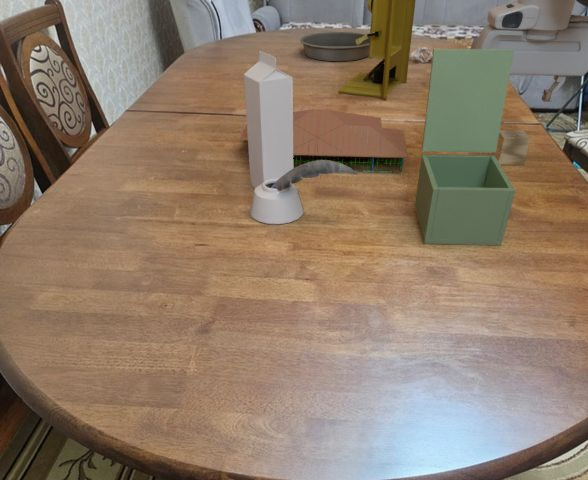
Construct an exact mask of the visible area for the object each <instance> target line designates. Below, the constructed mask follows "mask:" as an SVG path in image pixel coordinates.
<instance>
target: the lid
mask: <svg viewBox="0 0 588 480" xmlns="http://www.w3.org/2000/svg"><path fill="white" fill-rule="evenodd" d="M432 53H433V56H432V60H431V66H430V76H429V82H428V92H427V99H426V109H425V110H426V111H425V118H424V128H423V137H422V144H421V146H422V147H421V152H422V153H425V152H426V153H428V152H429V153H493V152H496V149H497V143H498V138H499V132H500V130H501V125H502V120H503V116H504V115H503V114H504V109H505V103H506V97H507V91H508V86H509V81H510V76H511V75H510V70H511V64H512V59H513V53H514V49H471V48H466V49H465V48H436V49H435V48H433V49H432Z"/></svg>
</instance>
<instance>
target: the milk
mask: <svg viewBox="0 0 588 480" xmlns="http://www.w3.org/2000/svg"><path fill="white" fill-rule="evenodd" d="M243 83H244V84H243V85H244V99H245V100H244V101H245V117H246V125H247V134H248V142H247V147H248V148H247V149H248V150H247V151H248V153H249V154H248V165H249V181H250V186H252V188H254V189H255V188H256V187H257V186H259V185H260V184H263V182H264V181H266V180H269V179H274V178H281V177H282V176H283V175H285V174H286V173H287V172H289V171H290V170H292V169H294V168H295V167H294V166H295V165H294V159H293V112H294V77H292V76H291V75H289V74H287V73H285V72H284V71H282V70H280V69H278V68H277V59H276V57H275V56H273V55H272V54H269V53H266V52H264V51H262V50H259V51H258V61H257V62H256V63H255V64H254V65H252V66H251V67H250V68H249V69H248V70H247V71H246V72H245V73H244V74H243ZM292 184H293V185H295V183H292Z"/></svg>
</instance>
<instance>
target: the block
mask: <svg viewBox="0 0 588 480" xmlns="http://www.w3.org/2000/svg"><path fill="white" fill-rule="evenodd" d="M530 143H531V137H530V136H529V135H528V134H527V132H526V131H525V130H523V129H521V130H519V129H517V130H516V129H500V132H499V138H498V143H497V149H496V152H492V155H495V157H496V158H497V160H498V162H499V163H500V165H501V166H502V165H512V166H521V165H522V166H524V165H525V162H526V159H527V155H528V151H529V147H530Z"/></svg>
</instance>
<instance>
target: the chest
mask: <svg viewBox="0 0 588 480" xmlns="http://www.w3.org/2000/svg"><path fill="white" fill-rule="evenodd" d="M515 195H516V189H515V187H514V186H513V183H512V182H511V180H510V178H509V177H508V175H507V173H506V172H505V170H504V168H503V167H502V165H500V163H499V162H498V160H497V158H496V157H495V155H493V154H449V153H447V154H446V153H445V154H442V153H441V154H439V153H421V157H420V164H419V172H418V179H417V185H416V193H415V199H414V208H415V212H416V216H417V219H418V224H419V228H420V231H421V235H422V240H423V243H424V245H465V246H466V245H469V246H502V245H503V244H502V243H503V240H504V237H505V233H506V230H507V229H506V228H507V225H508V221H509V217H510V213H511V210H512V206H513V203H514V198H515Z"/></svg>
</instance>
